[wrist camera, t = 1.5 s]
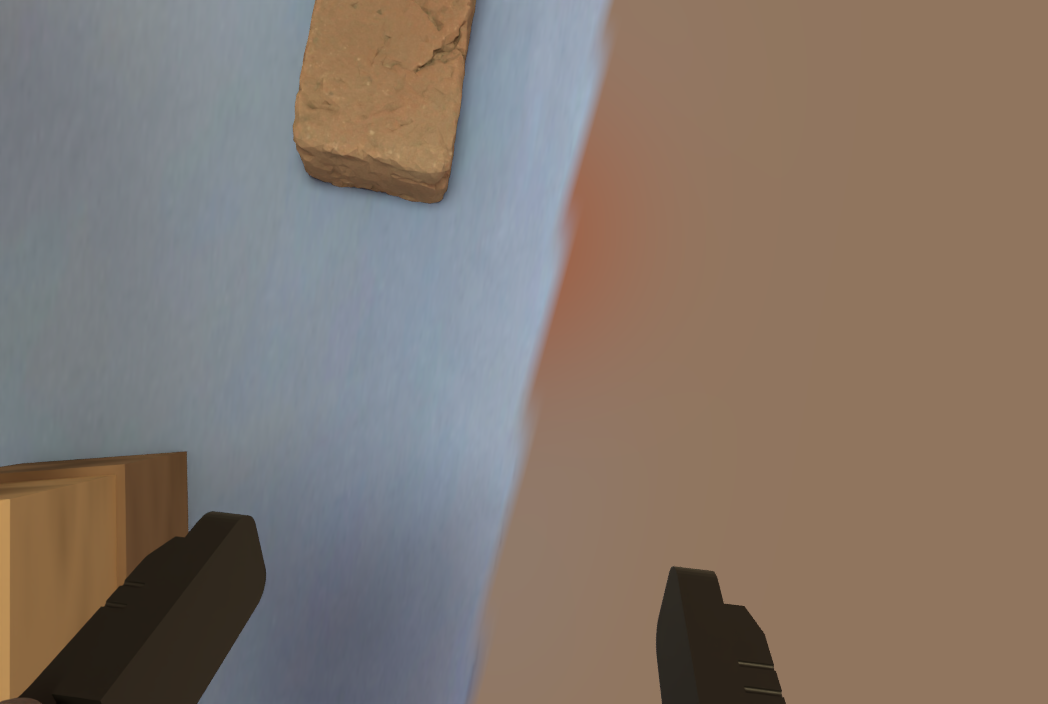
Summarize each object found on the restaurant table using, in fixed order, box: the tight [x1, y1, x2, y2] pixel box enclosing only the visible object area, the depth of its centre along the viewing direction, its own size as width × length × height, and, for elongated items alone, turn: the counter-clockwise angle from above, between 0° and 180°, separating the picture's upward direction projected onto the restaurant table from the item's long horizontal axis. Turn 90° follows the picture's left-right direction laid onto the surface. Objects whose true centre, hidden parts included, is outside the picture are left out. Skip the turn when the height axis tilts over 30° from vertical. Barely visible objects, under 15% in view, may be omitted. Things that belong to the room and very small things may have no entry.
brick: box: [293, 0, 476, 203], centre depth 32 cm, size 17×8×5 cm, turn 173°
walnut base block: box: [0, 451, 188, 588], centre depth 27 cm, size 8×8×6 cm
